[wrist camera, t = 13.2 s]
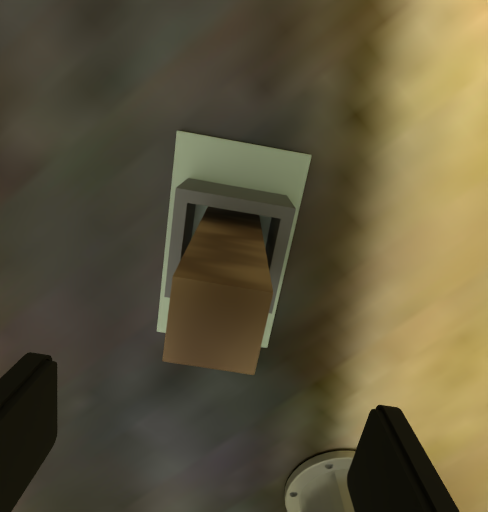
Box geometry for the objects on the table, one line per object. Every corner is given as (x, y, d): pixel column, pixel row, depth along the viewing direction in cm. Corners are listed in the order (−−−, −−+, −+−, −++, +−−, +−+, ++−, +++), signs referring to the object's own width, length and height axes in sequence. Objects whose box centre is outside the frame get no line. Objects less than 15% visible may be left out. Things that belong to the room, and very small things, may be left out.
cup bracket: (308, 154, 26) (327, 160, 20) (266, 340, 32) (271, 386, 26) (179, 130, 26) (160, 129, 20) (159, 324, 31) (140, 367, 25)
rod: (259, 214, 27) (273, 293, 13) (249, 261, 28) (254, 375, 15) (208, 205, 26) (172, 276, 13) (201, 253, 28) (162, 361, 15)
